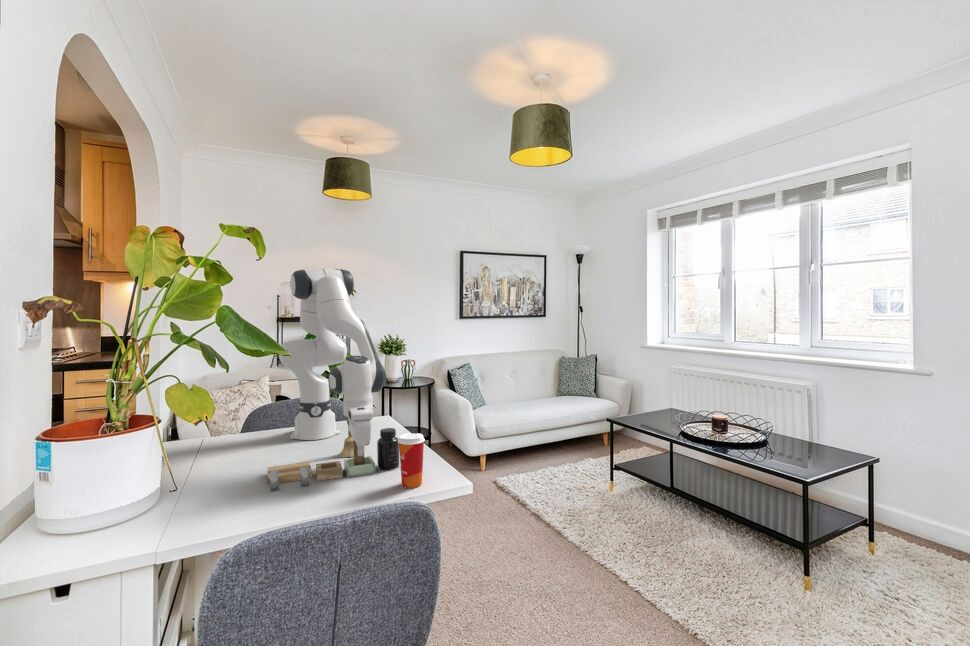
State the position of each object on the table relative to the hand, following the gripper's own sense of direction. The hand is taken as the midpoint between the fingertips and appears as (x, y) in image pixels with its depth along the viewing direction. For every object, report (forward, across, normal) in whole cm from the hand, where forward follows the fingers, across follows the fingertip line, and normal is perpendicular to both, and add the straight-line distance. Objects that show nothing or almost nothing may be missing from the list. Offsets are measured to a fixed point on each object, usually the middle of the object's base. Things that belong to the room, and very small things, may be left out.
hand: (359, 453), depth 143 cm
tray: (+6, 0, 0) cm, 6 cm away
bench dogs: (+6, +5, -20) cm, 21 cm away
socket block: (+6, 0, -9) cm, 11 cm away
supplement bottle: (+6, 0, +9) cm, 11 cm away
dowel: (+5, 0, 0) cm, 5 cm away
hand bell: (+6, -19, 0) cm, 20 cm away
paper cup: (+6, +18, +12) cm, 23 cm away
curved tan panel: (+6, -5, -20) cm, 22 cm away
